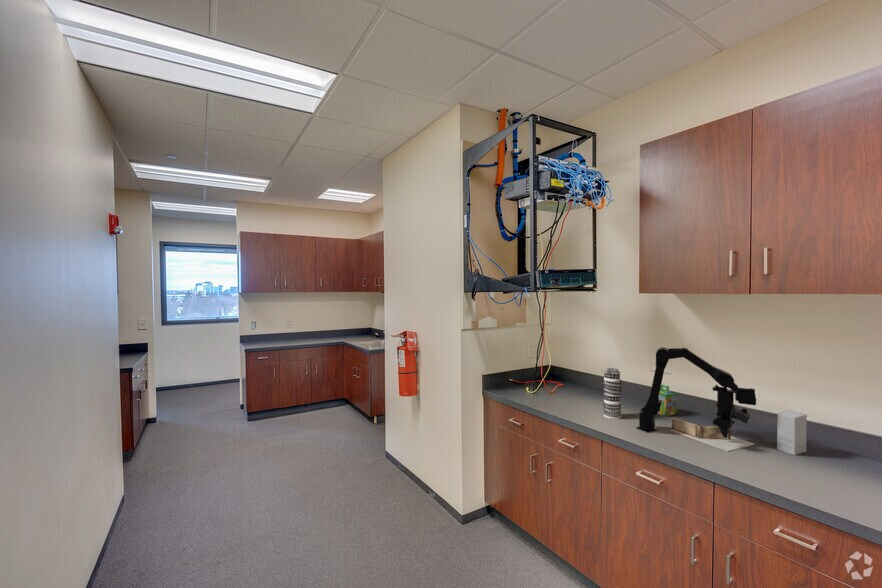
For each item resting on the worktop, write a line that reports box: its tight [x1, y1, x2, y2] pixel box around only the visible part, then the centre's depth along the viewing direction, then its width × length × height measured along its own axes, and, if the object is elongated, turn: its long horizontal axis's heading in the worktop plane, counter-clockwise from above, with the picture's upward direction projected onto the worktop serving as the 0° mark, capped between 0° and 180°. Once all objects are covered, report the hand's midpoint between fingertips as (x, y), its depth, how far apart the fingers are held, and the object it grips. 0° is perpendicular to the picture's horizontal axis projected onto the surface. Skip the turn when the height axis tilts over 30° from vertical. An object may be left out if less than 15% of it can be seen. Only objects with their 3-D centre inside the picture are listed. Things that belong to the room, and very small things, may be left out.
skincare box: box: [776, 409, 808, 456], centre depth 160 cm, size 8×7×16 cm
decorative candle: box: [602, 367, 623, 420], centre depth 205 cm, size 9×9×25 cm
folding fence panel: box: [701, 425, 732, 439], centre depth 173 cm, size 11×2×5 cm, turn 81°
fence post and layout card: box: [669, 417, 755, 452], centre depth 176 cm, size 18×27×6 cm, turn 22°
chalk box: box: [657, 384, 678, 417], centre depth 210 cm, size 9×9×15 cm
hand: (725, 437), depth 170 cm, fingers closed
